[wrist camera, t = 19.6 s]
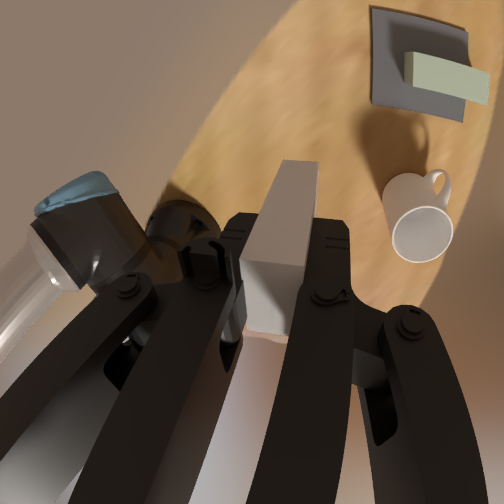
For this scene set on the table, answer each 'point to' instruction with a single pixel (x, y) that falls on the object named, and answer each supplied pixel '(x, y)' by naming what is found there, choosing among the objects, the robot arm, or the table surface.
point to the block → (446, 77)
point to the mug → (418, 215)
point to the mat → (392, 62)
